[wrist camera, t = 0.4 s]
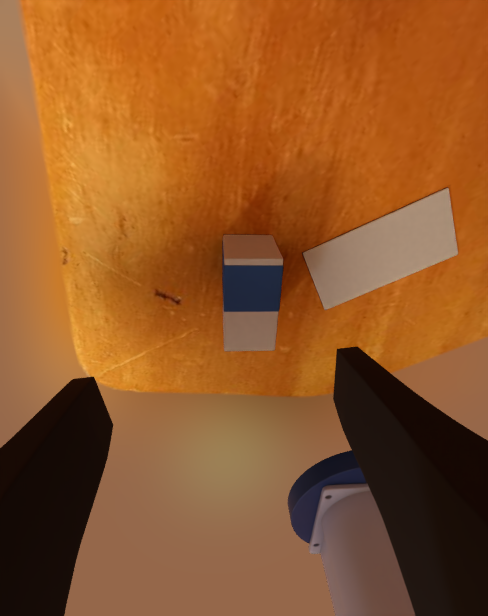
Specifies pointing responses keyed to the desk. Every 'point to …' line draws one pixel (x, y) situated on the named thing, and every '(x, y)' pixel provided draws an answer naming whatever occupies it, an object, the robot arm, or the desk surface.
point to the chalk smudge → (383, 250)
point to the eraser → (251, 292)
